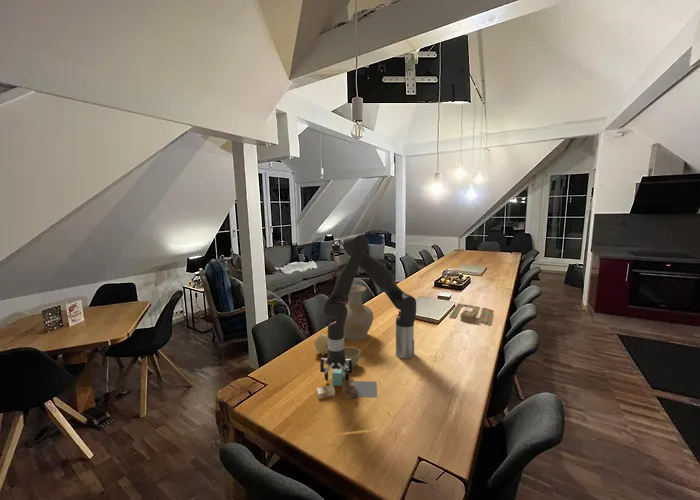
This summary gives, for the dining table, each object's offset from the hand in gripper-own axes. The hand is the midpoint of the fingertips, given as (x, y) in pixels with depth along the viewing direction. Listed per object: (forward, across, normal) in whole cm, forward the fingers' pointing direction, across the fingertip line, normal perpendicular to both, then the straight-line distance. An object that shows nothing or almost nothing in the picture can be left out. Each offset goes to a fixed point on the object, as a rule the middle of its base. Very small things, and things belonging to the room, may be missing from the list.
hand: (336, 380), depth 133 cm
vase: (+2, -6, -49) cm, 49 cm away
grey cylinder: (+2, -2, -7) cm, 8 cm away
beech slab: (+2, +4, +8) cm, 9 cm away
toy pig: (+2, +9, -27) cm, 28 cm away
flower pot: (+2, -5, -16) cm, 17 cm away
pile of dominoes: (+2, -88, -87) cm, 124 cm away
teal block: (+2, 0, 0) cm, 2 cm away
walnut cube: (+1, -7, +8) cm, 11 cm away
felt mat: (+2, -12, +4) cm, 13 cm away
